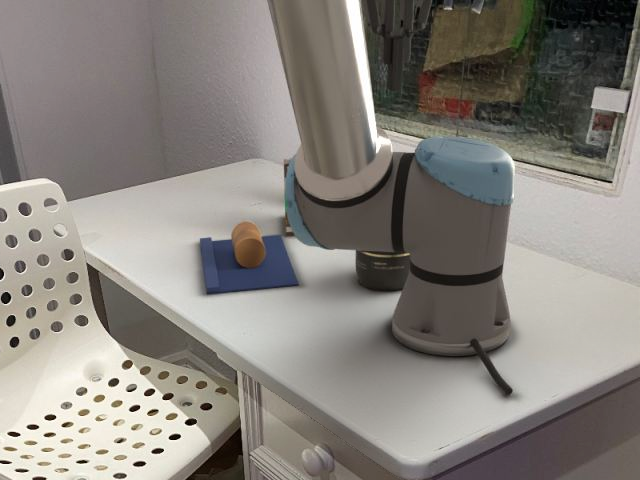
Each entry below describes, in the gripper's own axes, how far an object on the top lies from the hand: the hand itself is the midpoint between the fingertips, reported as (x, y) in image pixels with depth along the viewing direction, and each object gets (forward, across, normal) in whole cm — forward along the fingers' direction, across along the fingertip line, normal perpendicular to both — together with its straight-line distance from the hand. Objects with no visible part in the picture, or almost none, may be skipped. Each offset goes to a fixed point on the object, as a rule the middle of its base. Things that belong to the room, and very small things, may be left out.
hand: (394, 89), depth 116 cm
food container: (+25, +11, -18) cm, 32 cm away
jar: (+25, +2, +9) cm, 26 cm away
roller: (+22, +22, -4) cm, 31 cm away
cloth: (+24, +22, -3) cm, 33 cm away
